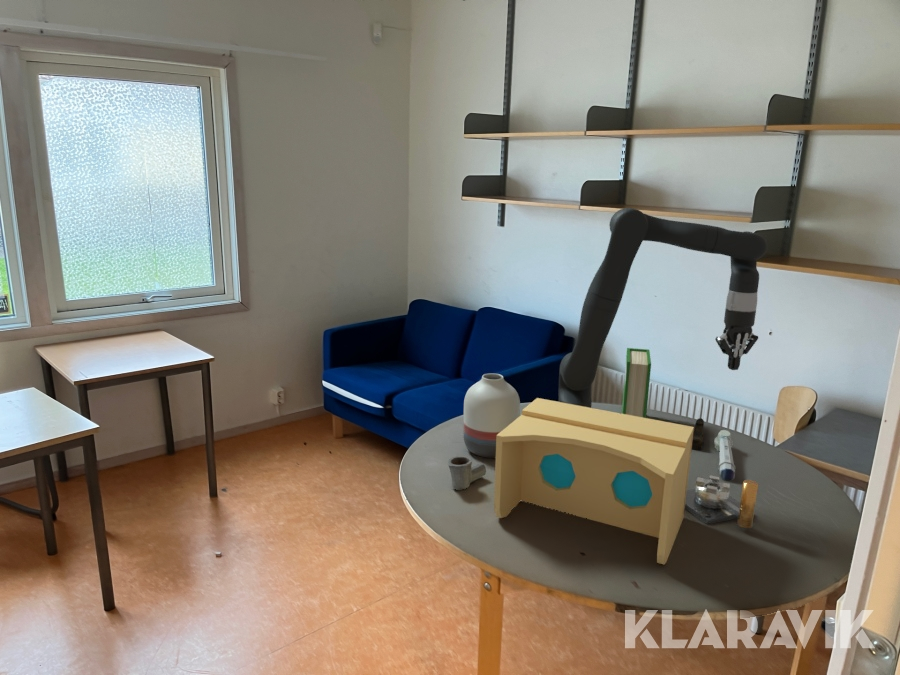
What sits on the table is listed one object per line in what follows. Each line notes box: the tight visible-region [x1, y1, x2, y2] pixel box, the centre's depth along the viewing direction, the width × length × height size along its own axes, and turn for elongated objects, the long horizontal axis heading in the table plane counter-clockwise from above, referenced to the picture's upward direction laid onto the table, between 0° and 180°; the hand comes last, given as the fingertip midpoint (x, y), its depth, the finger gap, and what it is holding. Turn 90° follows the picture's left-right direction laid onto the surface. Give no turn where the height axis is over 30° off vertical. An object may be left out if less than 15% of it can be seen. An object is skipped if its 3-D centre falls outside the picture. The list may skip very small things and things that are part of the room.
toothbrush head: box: [713, 429, 736, 481], centre depth 192 cm, size 5×7×25 cm
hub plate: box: [684, 488, 741, 525], centre depth 166 cm, size 14×14×2 cm
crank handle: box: [694, 474, 759, 529], centre depth 160 cm, size 18×8×11 cm, turn 18°
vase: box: [462, 372, 521, 459], centre depth 195 cm, size 17×17×24 cm
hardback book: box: [621, 347, 652, 418], centre depth 218 cm, size 18×7×24 cm, turn 165°
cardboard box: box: [493, 397, 695, 565], centre depth 156 cm, size 40×26×24 cm, turn 61°
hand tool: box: [691, 417, 705, 451], centre depth 208 cm, size 19×4×5 cm, turn 153°
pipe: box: [447, 455, 487, 491], centre depth 175 cm, size 6×13×8 cm, turn 135°
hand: (733, 369), depth 177 cm, fingers closed
